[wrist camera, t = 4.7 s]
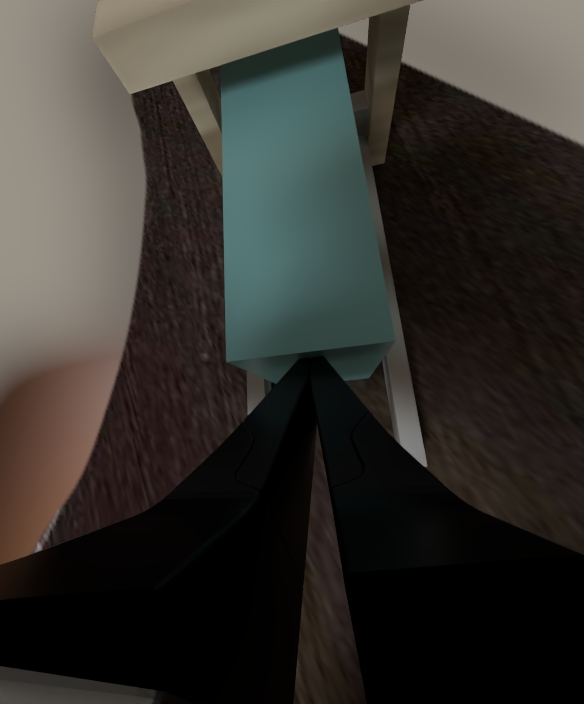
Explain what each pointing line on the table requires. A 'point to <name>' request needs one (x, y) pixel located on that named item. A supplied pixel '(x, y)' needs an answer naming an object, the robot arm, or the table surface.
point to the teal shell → (298, 216)
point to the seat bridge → (205, 105)
